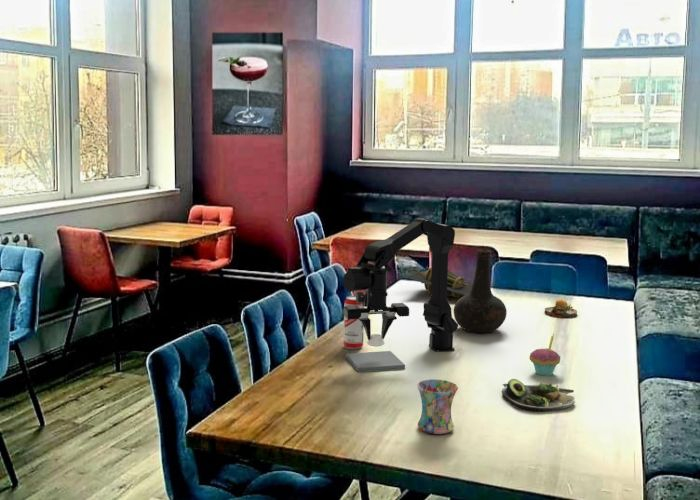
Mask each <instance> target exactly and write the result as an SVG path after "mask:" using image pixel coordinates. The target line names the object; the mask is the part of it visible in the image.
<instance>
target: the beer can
mask: <svg viewBox="0 0 700 500" xmlns="http://www.w3.org/2000/svg"><path fill="white" fill-rule="evenodd" d="M345 298H346V299H345V300H344V305H343V306H344V307H345V306H351V305H357V306H358V307H359V308H365V306H362V303H356V295H350V296H349V295H348V296H346V297H345ZM344 307H343V308H344ZM364 331H365V329H364V326H363V323H362V321H360V320H359V319H347V318H346V317H345V316H344V315H343V346H344V347H345V348H346V349H348V350H361V348H362V347H363V345H364Z"/></svg>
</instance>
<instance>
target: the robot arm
mask: <svg viewBox="0 0 700 500" xmlns="http://www.w3.org/2000/svg"><path fill="white" fill-rule="evenodd" d="M422 235H425V236H426V239H427V244H428V247H429V249H430V251H431V267H432V275H431V293H430V298H429V299H428V301H427V302H423V313H422V316H423V317H424V321H425V322H426V325H427V328H429V329H431V330H430V333H429V336H428V337H429V339H428V340H429V341H428V347H429V348H431V349H432V350H433V351H435V352H445V351H447V352H448V351H455V347H453V346H454V345H453V340H454V333H455V332H457V331H458V327H459V324H458V323H457V322H456V320H455V318H453V316H452V306H451V304H450V302H449V300H448V295H447V275H448V271H449V270H448V269H449V253H450V252H451V250H452V248H453V246H454V242H455V236H456V230H455V229H454V227H452V225H449V224H443V223H438V222H433V221H431V220H429V219H426V218H422V217H418V218H417V217H416V218H415V219H413V221H412V222H410V223H409V224H407V225H406V226H404V227H403V228H402V229H401V228H400V230H398V231H397V232H395V233H394V234H392V235H391V236H389V237H387V238H385V239H381V240H377V241H374V242H372V243H368V245H367V246H366V247H365V248H364V252H363V254H362V255H361V256H360V259H359V260H358V262H357V263H356V267H352V266H351V267H348V268H347V271H346V272H345V274H344V275H343V278H342V284H343V287H344V289H345V290H346V291H347V292H349V293H352V292H355V296H356V303H362V306H364V308H359V307H358V306H357V305H351V306H345V307H343V309H342V313H343V314H342V315H343V317H344V316H345V317H346V318H347V319H359V320H360V321H362V323H363V326H364V331H365V334H366V337H367V341H368V340H370V337H371V335H372V334H371V327H372V325H371V318H369V315H381V317H382V322H381V323H382V324H381V333H380V335H381V337H382V338H383V340H385V338H386V335H387V333H388V332H389V329H390V327H391V325H392V324H393V322H394V320H396V321H397V319H398V317H409V316H410V308H409V306H407V305H406V304H405V303H404V302H393V303H391V304H390V306H388V305H387V297H388V294H389V293H388V292H387V289H388V288H387V286H388V284H387V283H388V280H387V279H388V276H387V275H388V273H390V272H393V271H394V269H393V267H391V266H390V264H389V263H390V262H392V261H393V260H394V259H395V257H396V254H397V253H398V252H399V251H400V250H402V249H404V247H406V246H407V245H409V244H411V243H412V242H414V241H415V240H416V239H418V238H419V237H421V236H422ZM364 291H365V294H364ZM396 315H398V317H397V316H396Z"/></svg>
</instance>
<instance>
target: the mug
mask: <svg viewBox="0 0 700 500" xmlns="http://www.w3.org/2000/svg"><path fill="white" fill-rule="evenodd" d="M416 386H417V389H418V392H419V394H420V395H419V396H420V399H421V414H420V418H419V420H418V421H417V427H418V428H419V430H421V431H422V432H425V433H428V434H435V435H441V434H448V433H449V432H452V431H453V430H455V429H454V428H455V425H454V422H453V419H452V418H453V417H452V405H453V400H454V397H455V396H456V393H457V391H458V388H459V387H458V385H457V384H456V383H455V382H452V381H449V380H445V379H435V378H433V379H431V378H430V379H425V380H421V381H419V382H418V383H417V385H416Z"/></svg>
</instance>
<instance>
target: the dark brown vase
mask: <svg viewBox="0 0 700 500" xmlns="http://www.w3.org/2000/svg"><path fill="white" fill-rule="evenodd" d="M476 252H477V253H476V255H475V257H476V265H475V266H476V267H475V272H474V279H473V283H472V284H473V286H472V289H471V291H470V292H469V293H468V294H467V295H462V296H461V297H459V298H458V300H457V301H456V302H455V305H454V306H453V315H454V320H455V321H456V323H457V324H458V327H460V328H462V329H463V330H466V331H468V332H470V333H471V332H472V333H477V334H487V333H489V334H490V333H493V332H495V331H496V330H498V329H499V328H500V327H501V326H502V325H503V324H504V322H505V320H506V318H507V312H508V311H507V307H506V304H505V303H504V302H503V300H502V299H500V298H499V297H497V296H496V295H494V294H493V293H492V288H491V268H490V267H491V266H490V265H491V259H492V258H493V255H491V252H492V251H491V250H489V249H478V250H477V251H476Z"/></svg>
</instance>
